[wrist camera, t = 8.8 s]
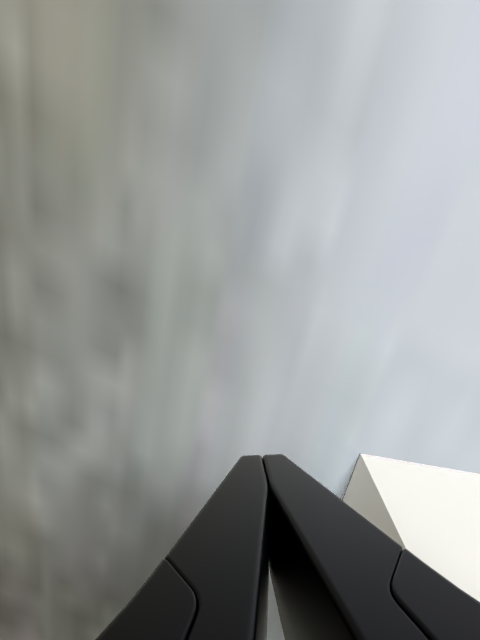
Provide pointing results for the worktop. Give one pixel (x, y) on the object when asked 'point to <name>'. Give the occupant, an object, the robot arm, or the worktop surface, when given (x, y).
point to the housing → (423, 513)
